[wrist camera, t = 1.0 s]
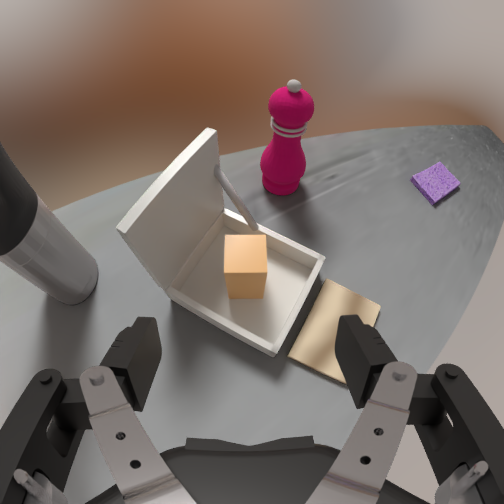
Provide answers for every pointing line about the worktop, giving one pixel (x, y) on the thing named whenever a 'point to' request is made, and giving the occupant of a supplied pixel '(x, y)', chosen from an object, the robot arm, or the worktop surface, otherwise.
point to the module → (245, 266)
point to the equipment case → (215, 249)
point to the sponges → (435, 182)
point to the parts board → (329, 327)
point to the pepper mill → (286, 139)
